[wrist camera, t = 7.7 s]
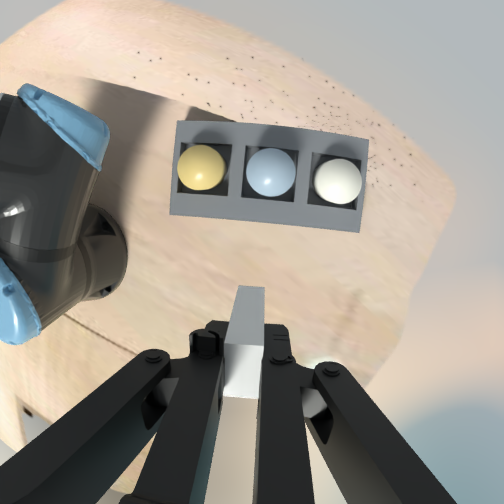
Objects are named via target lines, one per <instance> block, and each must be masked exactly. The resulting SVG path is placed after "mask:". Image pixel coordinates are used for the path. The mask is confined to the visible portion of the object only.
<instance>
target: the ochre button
mask: <svg viewBox="0 0 504 504" xmlns="http://www.w3.org/2000/svg"><path fill="white" fill-rule="evenodd" d="M177 171H178V176H179V178H180V180H181V181H182V183H183V184H184V185H185V186H187V187H189V188H191V189H194V190H205V189H212V188H214V187H216V186H218V185H219V184H220V183H221V182H222V181H223V180H224V178H225V176H226V172H227V165H226V162H225V159H224V158H223V156H222V155H221V154H220V153H218V152H217V151H215V150H214V149H213V148H211V147H209V146H205V145H195V146H192V147H190V148H188V149H187V150H186V151H184V153H183V154H182V155H181V157H180V158H179V161H178V165H177Z"/></svg>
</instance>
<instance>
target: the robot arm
mask: <svg viewBox="0 0 504 504" xmlns="http://www.w3.org/2000/svg"><path fill="white" fill-rule="evenodd" d="M17 94H18V96H13V95H9V94H5V93H0V340H1V341H3V342H5V343H7V344H11V345H19V344H23V343H25V342H26V341H28V340H30V339H31V338H33V337H36V336H38V335H39V334H40V333H41V331H42V330H43V329H45V328H46V327H47V326H48V325H50V324H51V323H52V322H54V321H55V320H56V319H57V318H59V317H60V316H61V315H63V314H64V313H65V312H67V311H68V310H69V309H71V308H72V307H73V306H75V305H76V304H77V303H79V302H81V301H89V300H97V299H101V298H104V297H106V296H108V295H109V294H111V293H112V292H113V291H114V290H116V289H117V287H118V286H119V285H120V283H121V282H122V280H123V278H124V275H125V272H126V268H127V248H126V243H125V240H124V237H123V234H122V232H121V230H120V228H119V226H118V224H117V223H116V221H115V220H114V219H113V218H112V217H111V216H110V215H109V214H108V213H107V212H106V211H105V210H103V209H101V208H100V207H98V206H95V205H92V204H88V202H89V199H90V196H91V193H92V190H93V187H94V185H95V182H96V179H97V176H98V174H99V171H100V172H101V170H102V166H101V164H102V161H103V158H104V155H105V152H106V149H107V146H108V143H109V140H110V130H109V128H108V126H107V124H106V123H105V122H104V121H103V120H101V119H100V118H98V117H97V116H95V115H93V114H91V113H90V112H88V111H86V110H84V109H82V108H80V107H78V106H76V105H75V104H73V103H71V102H69V101H67V100H65V99H62V98H60V97H58V96H56V95H54V94H52V93H50V92H46V91H45V90H42V89H40V88H38V87H36V86H34V85H31V84H28V83H26V84H24V85H22V87H21V88H20V89H18V91H17ZM189 341H190V354H189V356H188V357H186V358H181V359H170V355H169V354H168V353H167V352H165V351H163V350H159V349H149V350H145V351H143V352H141V353H140V354H138V355H137V356H136V357H135V358H133V359H132V360H131V361H130V362H129V363H127V364H126V365H125V366H124V367H122V368H121V369H120V370H119V371H118V372H116V373H115V374H114V375H113V376H111V377H110V378H109V379H108V380H107V381H105V382H104V383H103V384H102V385H100V386H99V387H98V388H97V389H95V390H94V391H93V392H92V393H91V394H89V395H88V396H87V397H86V398H84V399H83V400H82V401H81V402H80V403H78V404H77V405H76V406H75V407H73V408H72V409H71V410H70V411H68V412H67V413H66V414H65V415H63V416H62V417H61V418H60V419H59V420H57V421H56V422H55V423H54V424H52V425H51V426H50V427H49V428H47V429H46V430H45V431H44V432H42V433H41V434H40V435H39V436H37V437H36V438H35V439H34V440H32V441H31V442H30V443H29V444H27V445H26V446H25V447H24V448H22V449H21V450H20V451H19V452H17V453H16V454H15V455H14V456H12V457H11V458H10V459H9V460H8V461H6V462H5V463H4V464H2V465H1V466H0V504H96V503H97V502H98V501H99V499H100V498H101V497H102V496H103V495H104V494H105V493H106V491H107V490H108V489H109V488H110V487H111V486H112V485H113V483H114V482H115V481H116V480H117V479H118V478H119V476H120V475H121V474H122V473H123V472H124V471H125V469H126V468H127V467H128V466H129V465H130V464H131V462H132V461H133V460H134V459H135V458H136V456H137V455H138V454H139V453H140V452H141V450H142V449H143V448H144V447H145V446H146V444H147V443H148V442H149V441H150V439H151V438H152V437H153V436H154V435H155V433H156V432H157V433H156V436H155V438H154V441H153V443H152V446H151V448H150V451H149V453H148V456H147V458H146V461H145V463H144V466H143V468H142V471H141V473H140V476H139V479H138V481H137V484H136V486H135V489H134V491H133V492H132V493H131V494H126V495H124V496H123V497H122V498H121V500H120V502H119V504H204V500H205V495H206V490H207V484H208V479H209V473H210V468H211V463H212V457H213V452H214V446H215V441H216V436H217V431H218V425H219V420H220V415H221V409H222V404H223V401H222V400H223V398H222V397H223V395H224V396H230V397H242V398H255V399H258V409H257V431H256V449H255V468H254V487H253V503H252V504H315V502H314V493H313V484H312V475H311V467H310V459H309V451H308V444H307V436H306V428H305V423H306V425H307V427H308V429H309V431H310V433H311V435H312V436H313V439H314V440H315V442H316V444H317V446H318V448H319V450H320V452H321V454H322V456H323V458H324V460H325V462H326V464H327V466H328V468H329V470H330V472H331V474H332V475H333V477H334V479H335V481H336V483H337V485H338V487H339V489H340V491H341V493H342V494H343V496H344V498H345V500H346V502H347V504H457V503H456V502H455V501H454V499H453V498H452V497H451V496H450V495H449V493H448V492H447V491H446V490H445V488H444V487H443V486H442V485H441V483H440V482H439V481H438V480H437V479H436V478H435V476H434V475H433V474H432V472H431V471H430V470H429V469H428V468H427V467H426V465H425V464H424V463H423V461H422V460H421V459H420V458H419V457H418V455H417V454H416V453H415V452H414V450H413V449H412V448H411V447H410V446H409V445H408V443H407V442H406V441H405V439H404V438H403V437H402V436H401V435H400V433H399V432H398V431H397V430H396V428H395V427H394V426H393V425H392V424H391V422H390V421H389V420H388V419H387V417H386V416H385V415H384V414H383V413H382V411H381V410H380V409H379V408H378V406H377V405H376V404H375V403H374V402H373V400H372V399H371V398H370V397H369V395H368V394H367V393H366V392H365V390H364V389H363V388H362V387H361V386H360V384H359V383H358V382H357V381H356V379H355V378H354V377H353V376H352V375H351V373H350V372H349V371H348V370H347V368H345V367H344V366H343V365H341V364H339V363H336V362H322V363H319V364H318V365H316V366H315V369H310V368H306V367H303V366H301V365H298V364H297V363H296V360H295V358H294V357H293V356H292V352H291V345H290V338H289V332H288V329H287V328H286V327H285V326H284V325H280V324H264V287H253V286H238V290H237V294H236V298H235V302H234V306H233V310H232V314H231V318H230V322H226V321H215V320H212V321H211V322H209V323H208V324H206V327H205V329H198V330H195V331H193V332H191V334H190V335H189Z"/></svg>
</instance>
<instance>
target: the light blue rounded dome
mask: <svg viewBox="0 0 504 504" xmlns="http://www.w3.org/2000/svg"><path fill="white" fill-rule="evenodd" d="M246 175H247V179H248V182H249V184H250V186H251V187H252V188H253V189H254V190H255V191H256V192H258V193H259V194H261V195H264V196H278V195H281V194H283V193H285V192H286V191H287V190H288V189H289V188H290V187H291V186H292V184H293V182H294V180H295V175H296V170H295V165H294V163H293V161H292V159H291V158H290V156H289V155H288V154H286V153H285V152H283V151H282V150H279V149H275V148H266V149H262V150H260V151H258V152H257V153H255V154H254V155H253V156H252V157H251V159H250V160H249V162H248V165H247V169H246Z"/></svg>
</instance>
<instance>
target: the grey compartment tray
mask: <svg viewBox="0 0 504 504" xmlns="http://www.w3.org/2000/svg"><path fill="white" fill-rule="evenodd" d="M195 145H205V146H209V147H211V148H213V149H214V150H215V151H217V152H218V153H220V154H221V155H222V156H223V158H224V159H225V162H226V165H227V172H226V176H225V178H224V180H223V181H222V182H221V183H220V184H219V185H218V186H216V187H214V188H212V189H205V190H194V189H191V188H189V187H187V186H185V185H184V184H183V183H182V181H181V180H180V178H179V176H178V171H177V165H178V161H179V158H180V157H181V155H182V154H183V153H184V151H186V150H187V149H188V148H190V147H192V146H195ZM368 147H369V140H368V139H363V138H358V137H353V136H347V135H342V134H336V133H330V132H323V131H317V130H310V129H302V128H294V127H286V126H277V125H266V124H255V123H241V122H222V121H177V127H176V136H175V146H174V156H173V168H172V181H171V196H170V215H179V216H193V217H205V218H218V219H230V220H241V221H252V222H263V223H273V224H283V225H293V226H302V227H312V228H321V229H330V230H339V231H347V232H356V233H359V231H360V224H361V217H362V209H363V201H364V192H365V183H366V172H367V161H368ZM266 148H275V149H279V150H282V151H283V152H285V153H286V154H288V155H289V156H290V158H291V159H292V161H293V163H294V165H295V170H296V175H295V180H294V182H293V184H292V186H291V187H290V188H289V189H288V190H287V191H286V192H285V193H283V194H281V195H278V196H264V195H261V194H259V193H258V192H256V191H255V190H254V189H253V188H252V187H251V186H250V184H249V182H248V179H247V175H246V169H247V165H248V162H249V160H250V159H251V157H252V156H253V155H254V154H255V153H257V152H258V151H260V150H262V149H266ZM334 159H345V160H348V161H350V162H351V163H353V164H354V165H355V166H356V167H357V168H358V170H359V172H360V174H361V178H362V186H361V190H360V192H359V194H358V196H357V197H356V198H355V199H354V200H352V201H351V202H349V203H345V204H337V203H333V202H329V201H326V200H324V199H322V198H320V197H319V196H318V195H317V194H316V192H315V191H314V188H313V185H312V176H313V173H314V171H315V169H316V168H317V167H318V166H319V165H320V164H322V163H324V162H327V161H331V160H334Z"/></svg>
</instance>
